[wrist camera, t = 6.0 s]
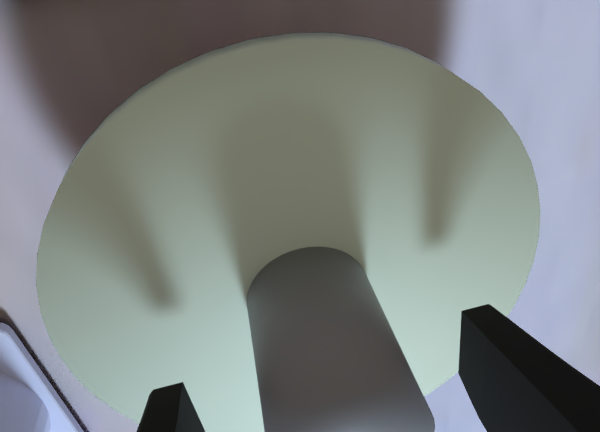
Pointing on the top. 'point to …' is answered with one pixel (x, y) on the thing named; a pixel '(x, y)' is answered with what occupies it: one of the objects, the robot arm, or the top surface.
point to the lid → (288, 236)
